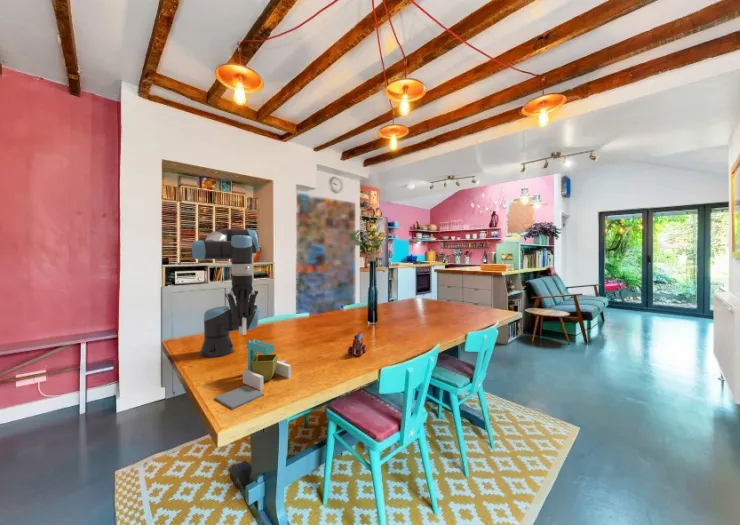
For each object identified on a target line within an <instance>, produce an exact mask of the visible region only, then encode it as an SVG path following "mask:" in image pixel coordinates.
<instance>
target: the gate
mask: <svg viewBox="0 0 740 525" xmlns="http://www.w3.org/2000/svg"><path fill="white" fill-rule="evenodd" d="M246 349H247V370H249V371H252V364H251V361H252V360H253V359H254V358H255V357H256V355H258V354H259V353H260V354H265V355H267V354H274V353H275V344H272V343H269V342H266V341H262V340H259V339H255V338H254V339H250V340H247V341H246ZM252 372H253V371H252Z"/></svg>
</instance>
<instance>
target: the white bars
mask: <svg viewBox="0 0 740 525" xmlns="http://www.w3.org/2000/svg"><path fill="white" fill-rule="evenodd" d="M274 374H276V375H278V376H281V377H284V378H286V379H290V378H292V365H291V364H289V363H287V361H286V360H285V359H283V360H277V366H276V370H275V372H274ZM241 376H242V383H243V384H244V385H246V386H248V387H250V388H253V389H255V390H256V389H257V391H262V390H264V387H265V386H264V382H265V381H264V380H263V376H262V375H259V374H257V373H254V372H252V371H249V370H248V368H247V369H246V368H245V369H243V370H242V374H241Z"/></svg>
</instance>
